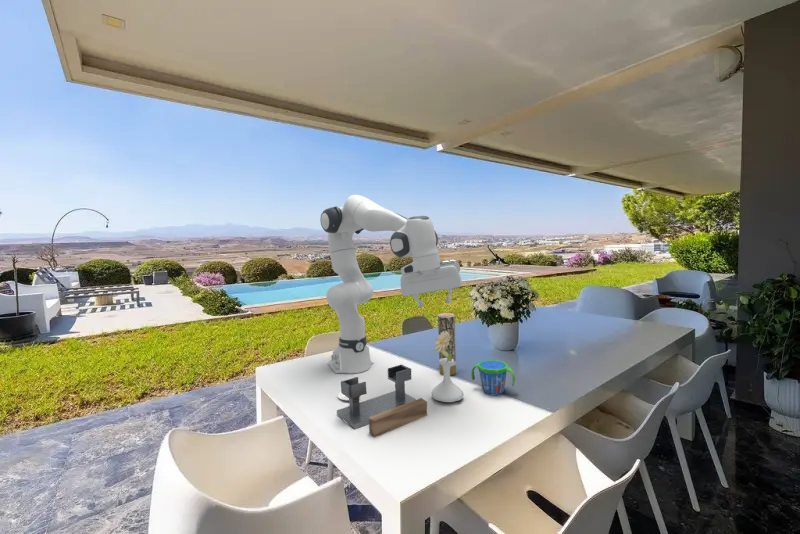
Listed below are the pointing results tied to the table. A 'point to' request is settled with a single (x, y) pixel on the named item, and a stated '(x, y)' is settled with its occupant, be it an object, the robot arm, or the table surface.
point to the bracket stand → (362, 411)
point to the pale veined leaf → (340, 395)
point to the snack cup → (493, 376)
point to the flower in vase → (446, 374)
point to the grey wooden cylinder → (448, 324)
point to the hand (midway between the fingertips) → (434, 304)
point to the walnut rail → (397, 417)
